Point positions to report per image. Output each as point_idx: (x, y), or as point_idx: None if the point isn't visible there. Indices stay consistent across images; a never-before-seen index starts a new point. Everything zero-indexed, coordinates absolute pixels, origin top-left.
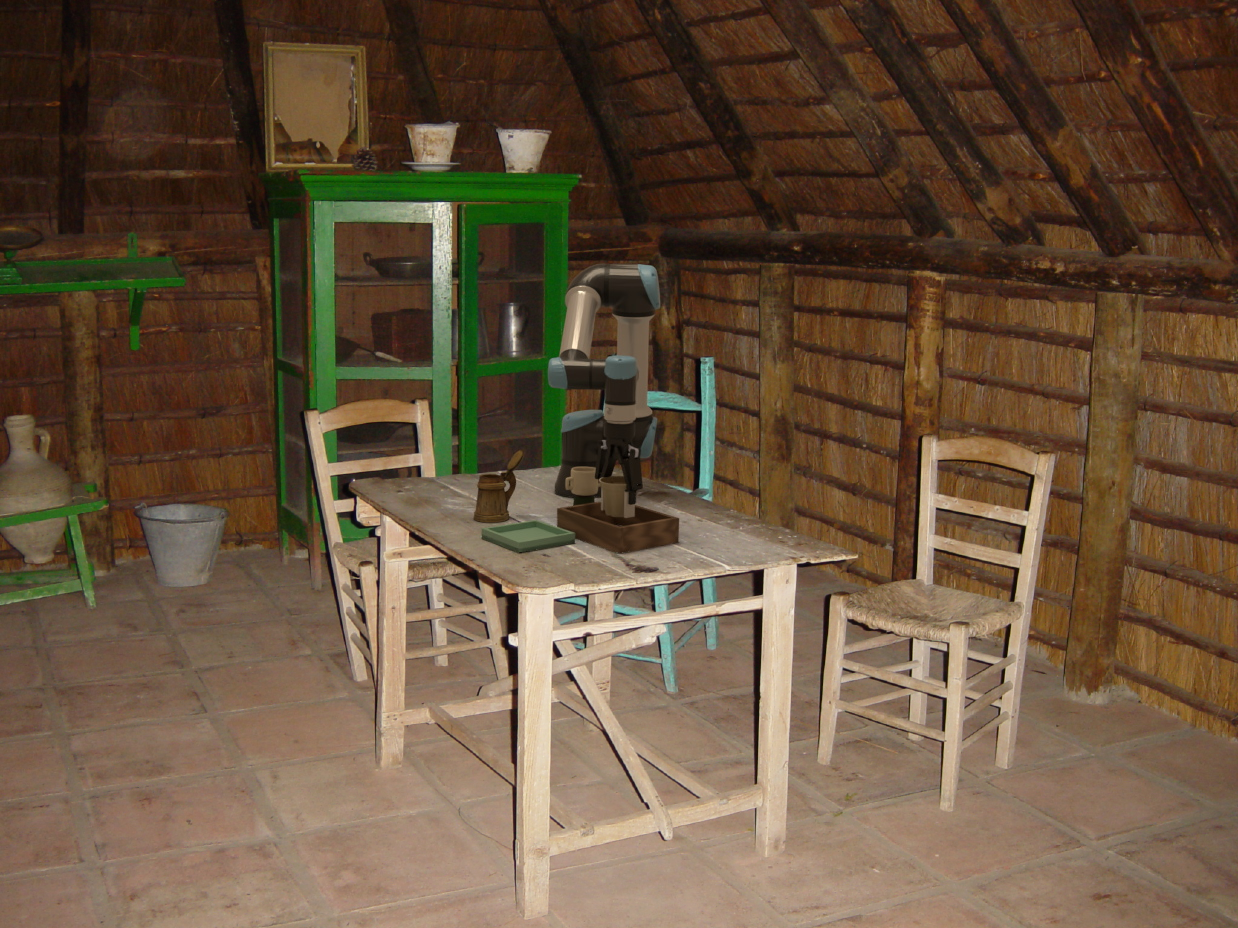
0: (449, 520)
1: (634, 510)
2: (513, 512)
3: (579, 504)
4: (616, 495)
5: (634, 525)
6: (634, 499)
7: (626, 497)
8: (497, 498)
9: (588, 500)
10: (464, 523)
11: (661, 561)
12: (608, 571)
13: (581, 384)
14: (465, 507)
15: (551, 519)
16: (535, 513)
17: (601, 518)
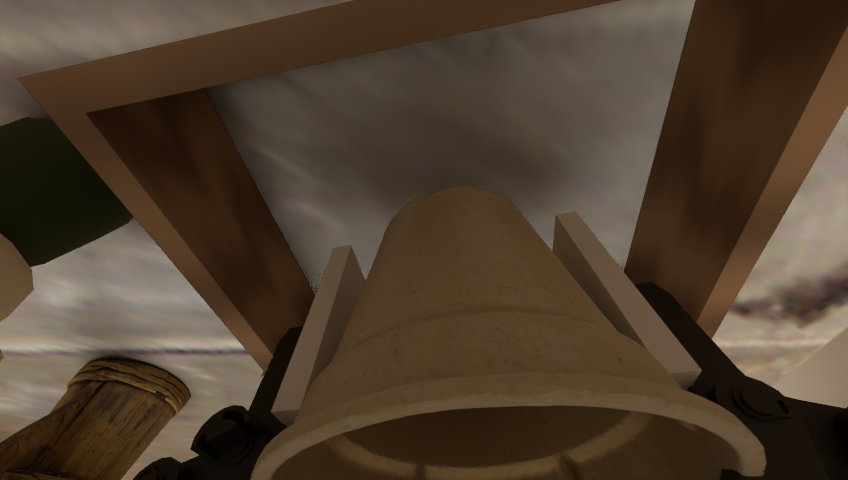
0: (166, 431)
1: (592, 234)
2: (37, 330)
3: (70, 247)
4: (562, 411)
5: (726, 301)
6: (681, 323)
7: None
8: (124, 454)
9: (35, 223)
10: (195, 422)
11: (837, 215)
12: (732, 360)
13: None
14: (4, 389)
15: (129, 279)
16: (34, 288)
17: (228, 181)
